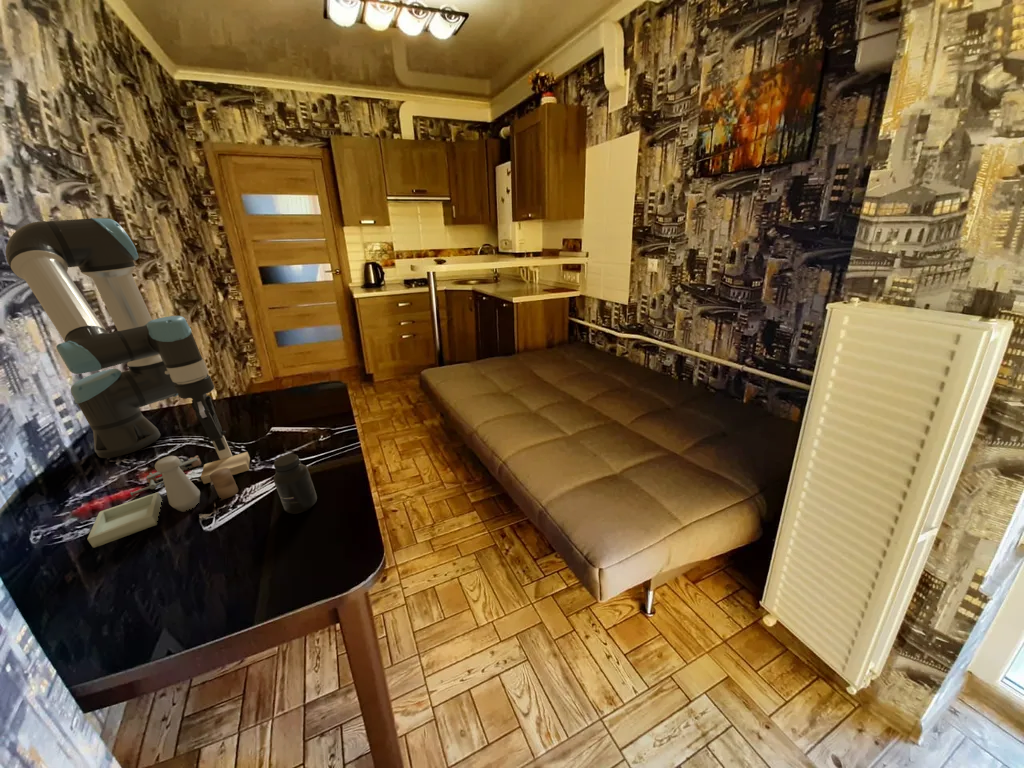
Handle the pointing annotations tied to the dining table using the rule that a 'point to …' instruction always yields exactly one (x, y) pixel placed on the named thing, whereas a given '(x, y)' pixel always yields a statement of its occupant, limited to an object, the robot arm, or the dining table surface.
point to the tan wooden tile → (226, 466)
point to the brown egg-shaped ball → (224, 483)
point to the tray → (125, 519)
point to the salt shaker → (177, 484)
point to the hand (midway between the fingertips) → (226, 458)
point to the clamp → (151, 477)
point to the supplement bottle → (294, 484)
